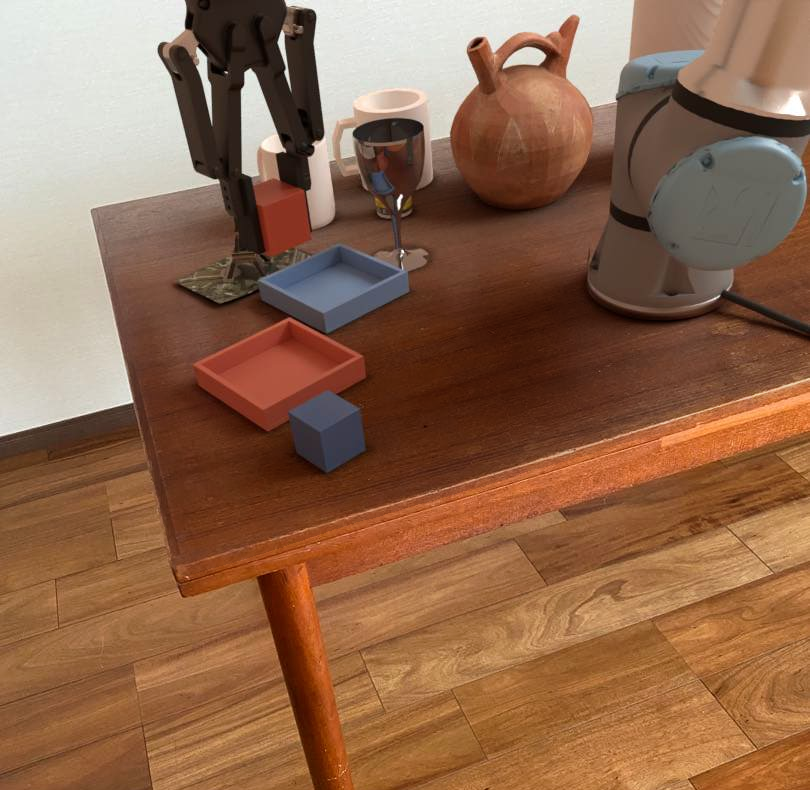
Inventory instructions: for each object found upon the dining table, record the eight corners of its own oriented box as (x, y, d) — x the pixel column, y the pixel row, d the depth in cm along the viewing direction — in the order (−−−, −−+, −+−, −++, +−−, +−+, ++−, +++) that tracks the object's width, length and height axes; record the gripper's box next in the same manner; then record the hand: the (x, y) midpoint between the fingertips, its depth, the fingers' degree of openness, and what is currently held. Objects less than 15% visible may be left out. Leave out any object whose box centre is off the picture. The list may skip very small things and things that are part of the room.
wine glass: (442, 248, 108) (435, 120, 98) (416, 278, 103) (405, 145, 93) (384, 241, 111) (371, 116, 101) (355, 269, 106) (339, 140, 96)
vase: (739, 176, 117) (789, -119, 95) (629, 185, 118) (655, -105, 96) (713, 139, 127) (753, -134, 106) (612, 147, 128) (632, -122, 107)
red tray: (366, 377, 88) (363, 355, 87) (267, 432, 83) (262, 410, 81) (293, 337, 95) (289, 316, 94) (198, 385, 90) (192, 364, 88)
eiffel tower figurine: (273, 240, 114) (252, 133, 105) (322, 262, 108) (305, 150, 99) (175, 284, 107) (144, 173, 98) (222, 309, 102) (194, 193, 93)
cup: (304, 237, 114) (291, 157, 107) (244, 218, 121) (228, 141, 114) (349, 214, 118) (338, 136, 112) (288, 197, 125) (275, 121, 118)
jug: (551, 157, 128) (556, -2, 114) (616, 199, 115) (630, 26, 101) (433, 184, 124) (423, 23, 110) (486, 231, 111) (483, 55, 97)
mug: (346, 203, 121) (336, 122, 114) (333, 177, 129) (322, 99, 122) (441, 186, 123) (437, 104, 116) (422, 161, 130) (417, 83, 123)
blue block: (365, 450, 79) (360, 408, 76) (327, 473, 77) (319, 431, 74) (334, 430, 82) (327, 389, 79) (296, 452, 80) (287, 411, 77)
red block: (311, 240, 79) (304, 189, 76) (271, 257, 77) (261, 206, 74) (282, 226, 82) (273, 177, 79) (242, 243, 80) (232, 193, 77)
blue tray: (409, 291, 101) (407, 271, 99) (326, 334, 95) (323, 313, 94) (342, 262, 108) (339, 242, 106) (261, 300, 103) (257, 280, 101)
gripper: (286, -97, 70) (327, 197, 85) (86, -55, 62) (171, 261, 77) (347, -93, 65) (377, 217, 81) (139, -46, 57) (218, 287, 73)
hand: (277, 238), depth 79 cm, fingers closed on red block, 4 cm apart
